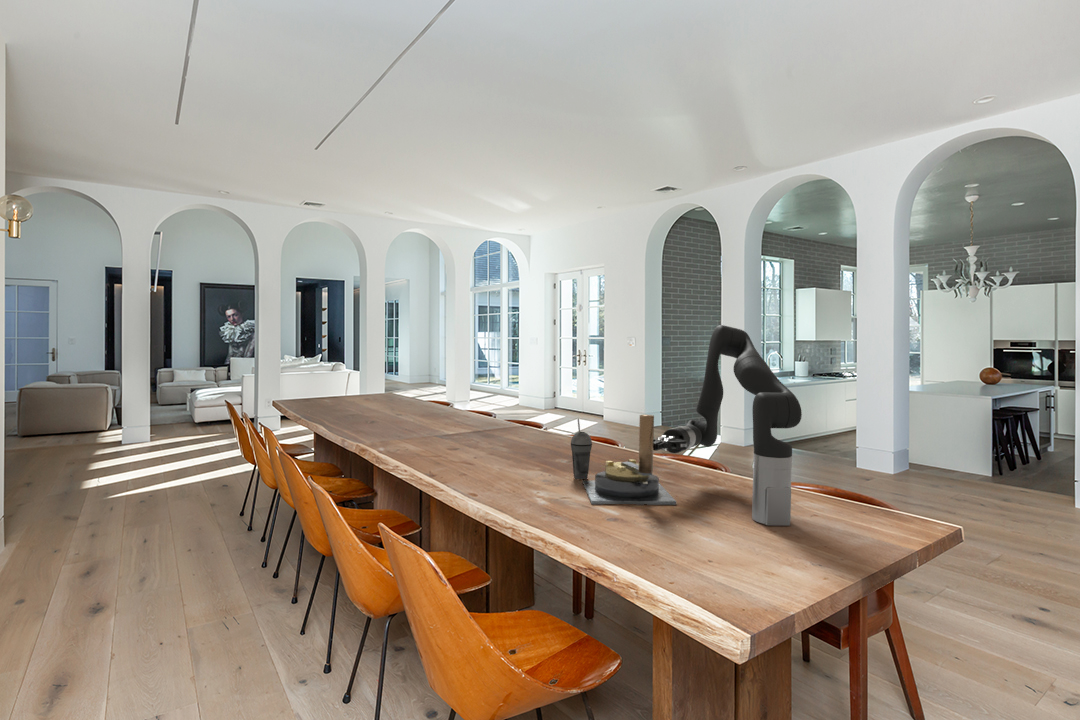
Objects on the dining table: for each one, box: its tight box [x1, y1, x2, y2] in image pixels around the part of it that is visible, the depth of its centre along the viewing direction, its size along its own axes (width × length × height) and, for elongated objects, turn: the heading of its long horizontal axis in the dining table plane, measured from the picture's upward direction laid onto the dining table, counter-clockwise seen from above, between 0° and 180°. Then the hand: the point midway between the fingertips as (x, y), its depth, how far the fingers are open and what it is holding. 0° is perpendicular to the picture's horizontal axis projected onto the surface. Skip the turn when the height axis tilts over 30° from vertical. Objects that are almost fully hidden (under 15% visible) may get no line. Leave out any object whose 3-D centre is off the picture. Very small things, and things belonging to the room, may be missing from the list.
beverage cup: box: [570, 418, 593, 481], centre depth 196 cm, size 7×7×20 cm
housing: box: [582, 470, 677, 506], centre depth 178 cm, size 24×24×5 cm
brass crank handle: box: [604, 414, 655, 482], centre depth 174 cm, size 20×13×20 cm, turn 20°
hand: (653, 446), depth 168 cm, fingers closed
